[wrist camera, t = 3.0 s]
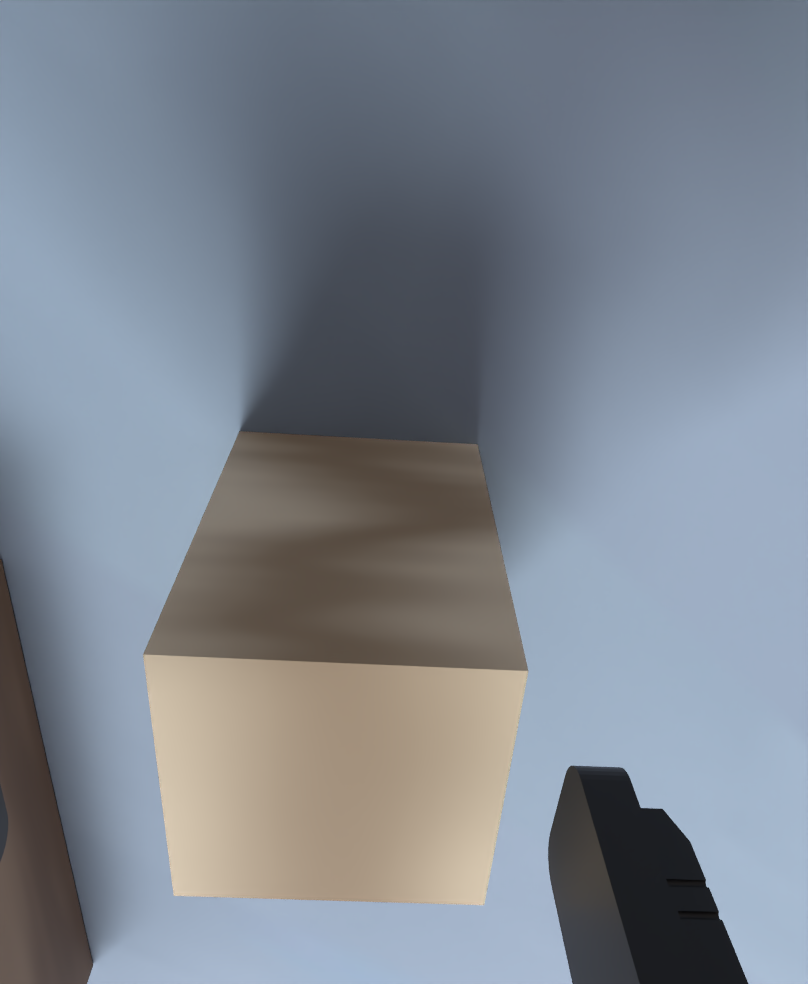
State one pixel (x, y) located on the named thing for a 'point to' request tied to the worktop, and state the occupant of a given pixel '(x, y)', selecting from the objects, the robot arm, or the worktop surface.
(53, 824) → the walnut base
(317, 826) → the beech block
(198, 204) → the worktop surface
